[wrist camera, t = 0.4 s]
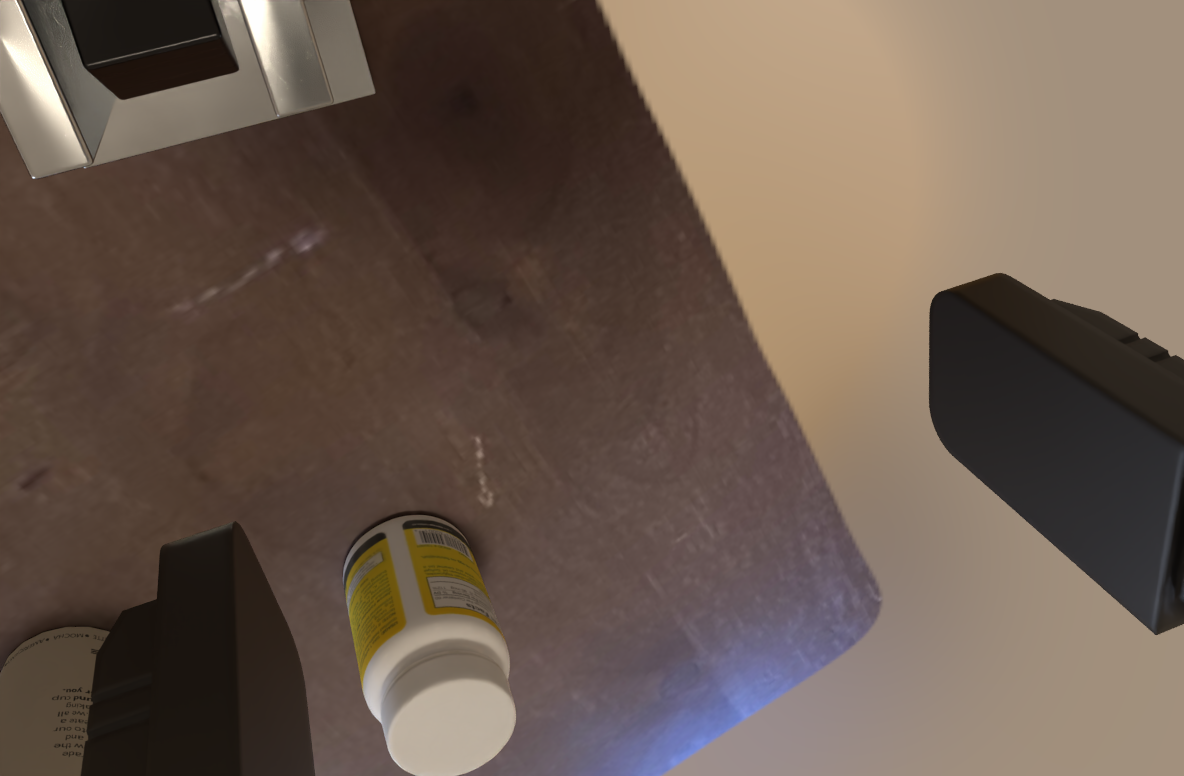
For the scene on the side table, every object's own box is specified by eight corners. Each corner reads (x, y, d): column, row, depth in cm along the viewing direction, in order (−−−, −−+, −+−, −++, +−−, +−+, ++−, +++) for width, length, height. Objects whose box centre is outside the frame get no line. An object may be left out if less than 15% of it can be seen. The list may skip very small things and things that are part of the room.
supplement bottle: (360, 631, 39) (393, 809, 32) (325, 535, 37) (352, 704, 30) (483, 591, 40) (540, 755, 33) (456, 494, 38) (513, 649, 30)
